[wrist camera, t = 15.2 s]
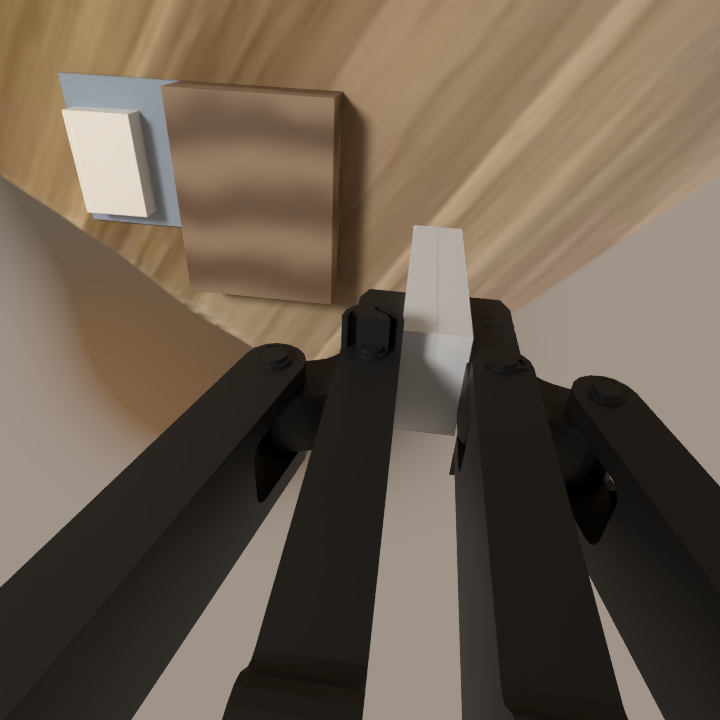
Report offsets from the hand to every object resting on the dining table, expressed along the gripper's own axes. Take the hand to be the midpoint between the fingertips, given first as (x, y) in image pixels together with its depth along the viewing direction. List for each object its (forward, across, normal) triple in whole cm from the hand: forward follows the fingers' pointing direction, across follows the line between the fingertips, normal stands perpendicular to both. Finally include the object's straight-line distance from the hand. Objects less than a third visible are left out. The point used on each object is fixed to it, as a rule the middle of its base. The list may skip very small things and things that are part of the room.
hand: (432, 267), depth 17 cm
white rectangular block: (+30, -29, -6) cm, 42 cm away
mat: (+32, -28, -6) cm, 43 cm away
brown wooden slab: (+32, -15, -8) cm, 37 cm away
